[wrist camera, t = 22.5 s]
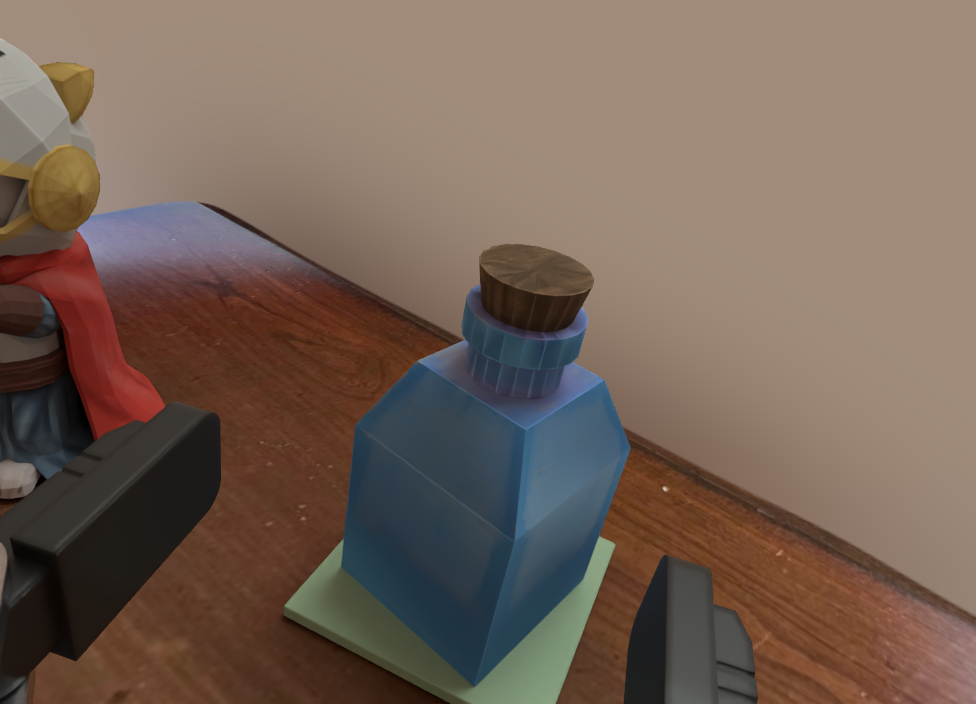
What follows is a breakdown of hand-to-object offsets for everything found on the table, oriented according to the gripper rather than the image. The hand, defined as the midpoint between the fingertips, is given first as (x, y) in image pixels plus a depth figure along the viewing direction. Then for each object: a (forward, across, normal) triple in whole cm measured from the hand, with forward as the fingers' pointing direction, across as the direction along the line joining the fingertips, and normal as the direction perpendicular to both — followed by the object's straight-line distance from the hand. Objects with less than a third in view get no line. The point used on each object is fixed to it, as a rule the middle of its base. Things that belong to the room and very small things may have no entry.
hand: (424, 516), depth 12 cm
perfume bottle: (+9, 0, +11) cm, 14 cm away
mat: (+9, 0, +11) cm, 14 cm away
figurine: (+9, +19, +11) cm, 24 cm away
